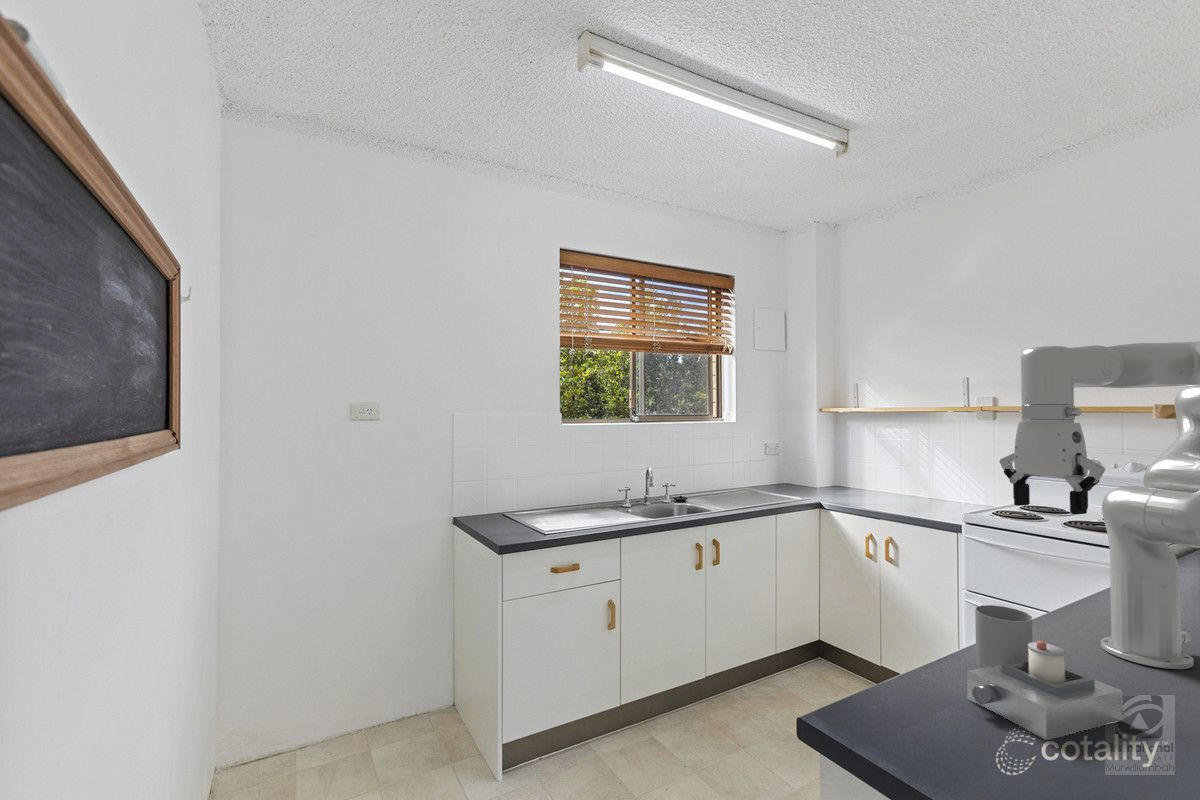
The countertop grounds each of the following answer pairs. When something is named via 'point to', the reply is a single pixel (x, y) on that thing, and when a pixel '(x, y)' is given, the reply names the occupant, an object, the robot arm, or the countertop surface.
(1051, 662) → the cream white cylinder
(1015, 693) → the grey holder block
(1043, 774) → the countertop surface
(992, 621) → the cup
